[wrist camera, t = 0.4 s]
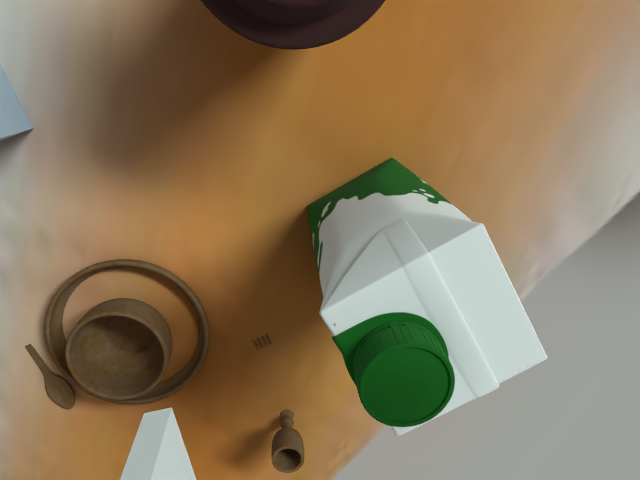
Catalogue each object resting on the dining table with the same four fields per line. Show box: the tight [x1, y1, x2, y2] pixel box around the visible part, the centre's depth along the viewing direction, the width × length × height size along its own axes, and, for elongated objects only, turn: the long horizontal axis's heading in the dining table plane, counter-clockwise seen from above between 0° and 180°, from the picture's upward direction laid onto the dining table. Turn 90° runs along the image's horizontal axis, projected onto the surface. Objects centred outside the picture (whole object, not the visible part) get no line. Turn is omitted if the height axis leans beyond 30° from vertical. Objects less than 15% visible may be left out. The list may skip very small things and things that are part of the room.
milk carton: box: [307, 158, 547, 436], centre depth 32 cm, size 9×9×20 cm
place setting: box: [25, 259, 304, 473], centre depth 42 cm, size 18×20×6 cm
